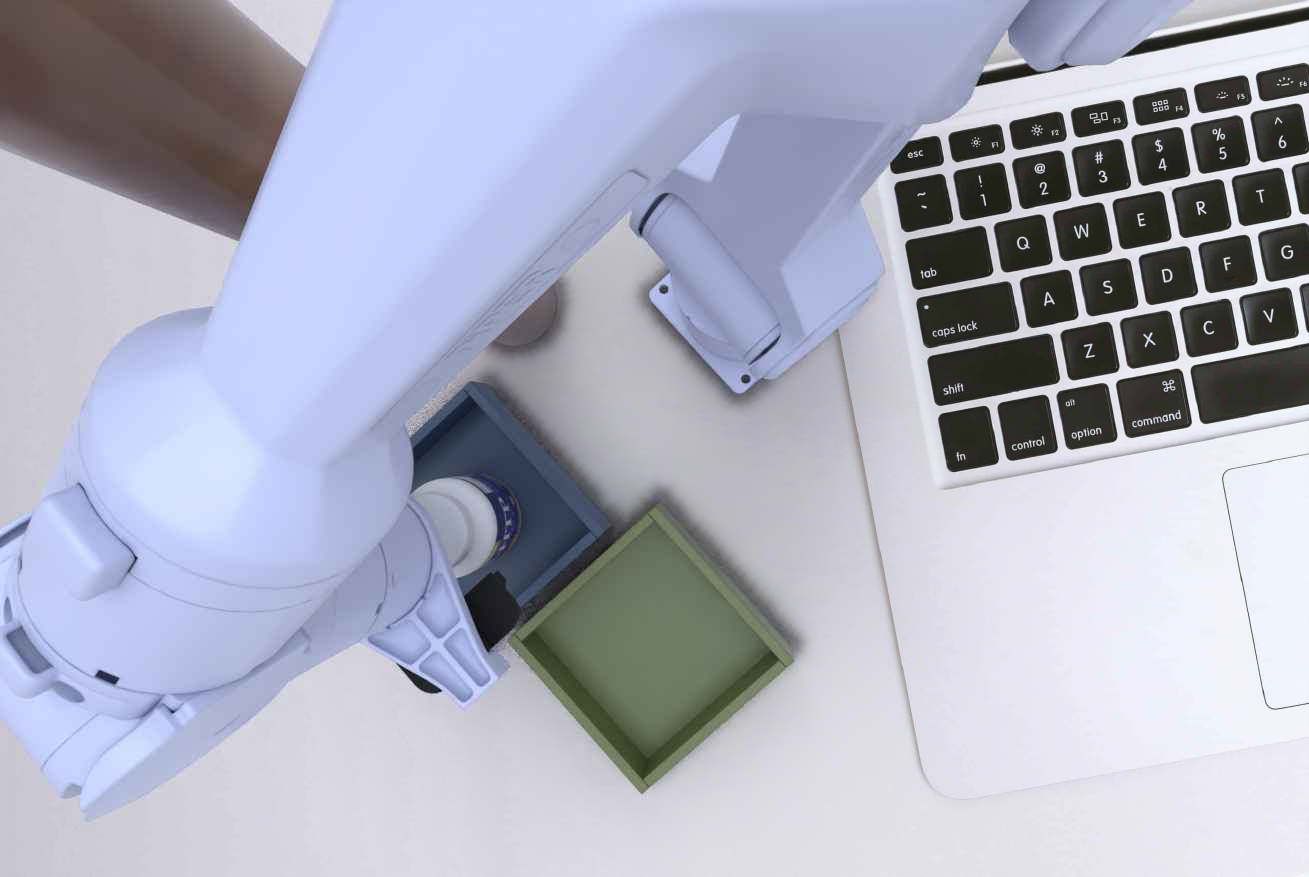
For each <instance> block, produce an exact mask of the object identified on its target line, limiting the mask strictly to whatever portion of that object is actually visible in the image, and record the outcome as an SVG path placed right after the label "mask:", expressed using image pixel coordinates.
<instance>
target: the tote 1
mask: <svg viewBox="0 0 1309 877" xmlns="http://www.w3.org/2000/svg"><path fill="white" fill-rule="evenodd" d="M409 438H410V442H411V446H412V452H413V461H414V462H413V480H412V487H411V492H410V495H411V494H412V493H413V492H414V491H415V490H416V489H417V488H419V487H420V486H422V485H424V484H425V483H428V482H430V481H433V480H437V479H441V478H448V477H456V476H462V475H472V474H480V475H487V476H491V477H493V478H496V479H497V480H499V481H501V482H502V483H504V484H505V485H506V486H507V487H508V488H509V489H510V490H511V491H512V493H513V494H514V495H515V497H516V499H517V501H518V504H519V507H520V511H521V527H520V532H519V535H518V537H517V539H516V541H515V543H514V544H513V546H512V547H511V548H510V550H509V551H508V552H507V553H506V554H504V555H503V556H502V557H500V558H498V559H497V560H495V561H493V562H491V563H489V564H487V565H485V566H483V567H481V568H479V569H478V570H476V571H474V572H472V573H470V574H468V575H465V576H462V577H459V578H456V579H457V582H458V584H459V587H460V589H461V592H462V594H463V596H464V595H466V594H467V593H468V592H469V591H470V590H471V589H472V588H473V587H474V586H475V585H477V584H478V583H479V582H480V581H481V580H482V579H483V578H484V577H485V576H486V575H487V574H489V573H490V572H491V573H492V574H494V573H495V572H496V571H497V570H498V571H499V572H500V573H501V574H502V575H503V577H504V578H505V579H506V589H507V591H508V592H509V593H510V594H511V595H512V596H513V597H514V599H515V600H516V601H517V603H518V604H519V606H520V608H521V609H523V608H524V607H525V606H526V605H527V604H528V603H529V602H530V601H531V600H532V599H534V598H535V596H537V595H538V594H539V593H540V592H542V590H543V589H545V587H547V586H548V585H549V584H550V583H552V581H553V580H554V579H555V578H557V577H558V576H559V575H560V574H561V573H563V571H564V570H566V569H567V568H568V567H569V566H570V565H571V564H572V563H574V562H575V560H576V559H578V557H580V556H581V555H582V554H583V553H584V552H585V551H587V550H588V548H590V547H591V546H592V545H593V544H594V543H596V542H597V541H598V540H599V539H600V538H601V537H602V536H603V535H605V533H607V531H608V530H610V529H611V528H612V527H613V526H614V523H613V522H612V521H611V520H610V519H609V518H608V517H607V515H606V514H605V513H604V512H603V511H602V509H600V508H599V507H598V506H597V504H596V503H595V502H594V501H593V499H592V498H590V497H589V495H587V493H586V492H585V491H584V490H583V489H582V488H581V486H580V485H578V483H577V482H576V481H575V480H574V478H573V477H571V476H570V474H569V473H568V472H567V471H566V470H565V469H564V468H563V466H562V465H561V464H560V463H559V462H558V461H557V460H556V458H555V457H553V455H552V454H551V453H550V452H549V451H548V450H547V449H546V447H545V446H544V445H543V444H542V443H541V442H540V441H539V440H538V438H536V436H535V435H534V434H533V432H531V430H530V429H528V427H527V426H526V425H525V424H524V423H523V422H522V421H521V419H520V418H519V417H518V416H517V415H516V414H515V413H514V412H513V410H512V409H511V408H510V407H509V406H508V405H507V404H506V403H505V402H504V400H502V398H501V397H500V396H499V395H498V394H497V393H496V392H495V391H494V389H493V388H492V387H491V386H490V385H489V384H487V383H484V382H478V381H472V380H469V382H468V383H466V384H465V385H464V386H463V387H462V388H461V389H460V390H459V391H458V392H457V393H456V394H455V395H453V397H451V398H450V399H449V400H448V401H447V402H446V403H444V405H443V406H442V407H441V408H440V409H439V410H438V411H437V412H436V413H435V414H433V415H432V416H430V418H429V419H428V420H427V421H426V422H424V424H423V425H422V426H420V427H419V428H418V429H417V430H416V431H415V432H414V433H413V434H412V435H411V436H409Z"/></svg>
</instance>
